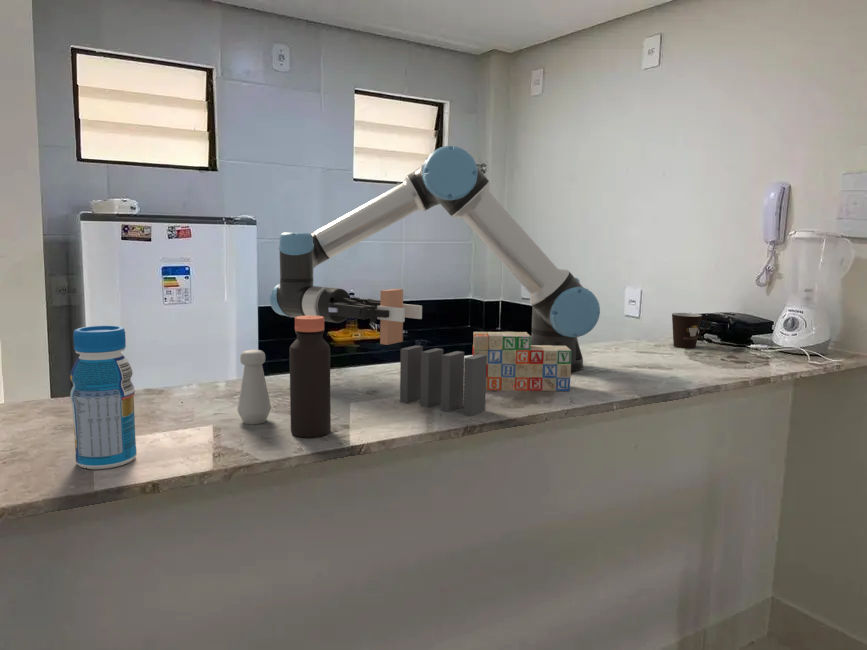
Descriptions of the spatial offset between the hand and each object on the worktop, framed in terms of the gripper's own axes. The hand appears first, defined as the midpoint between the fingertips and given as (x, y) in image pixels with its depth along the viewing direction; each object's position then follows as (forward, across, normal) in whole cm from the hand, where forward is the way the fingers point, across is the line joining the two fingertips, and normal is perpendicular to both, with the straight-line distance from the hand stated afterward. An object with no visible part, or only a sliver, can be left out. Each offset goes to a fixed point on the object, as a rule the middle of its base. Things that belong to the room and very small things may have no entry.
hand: (412, 313), depth 134 cm
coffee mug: (+30, -104, -18) cm, 109 cm away
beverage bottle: (-15, +56, -18) cm, 61 cm away
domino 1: (0, 0, -18) cm, 18 cm away
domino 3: (+10, 0, -18) cm, 21 cm away
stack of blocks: (+12, -24, -18) cm, 33 cm away
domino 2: (+5, 0, -18) cm, 19 cm away
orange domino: (-5, 0, -6) cm, 8 cm away
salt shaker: (-13, +30, -18) cm, 37 cm away
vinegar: (-1, +28, -18) cm, 33 cm away
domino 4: (+15, 0, -18) cm, 23 cm away
